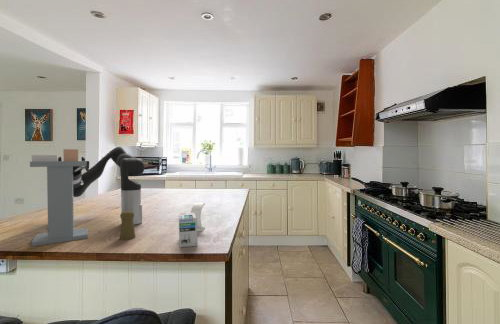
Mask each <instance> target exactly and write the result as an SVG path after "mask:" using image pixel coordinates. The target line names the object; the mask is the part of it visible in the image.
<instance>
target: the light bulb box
mask: <svg viewBox="0 0 500 324" xmlns="http://www.w3.org/2000/svg"><path fill="white" fill-rule="evenodd" d="M178 239H179V248H187V247H197V246H198V231H197V217H196V215H195V213H191V212H184V213H183V212H182V213H179V212H178Z"/></svg>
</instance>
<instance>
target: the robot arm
mask: <svg viewBox="0 0 500 324" xmlns="http://www.w3.org/2000/svg"><path fill="white" fill-rule="evenodd" d="M109 160H112V161H113V162H114V164H115V165H116V166H118V167H119V170H120V171H119V173H120V205H121V207H120V208H121V211H120V212H121V213H122V212H125V211H132V212H133V213H134V218H133V224H134V226H136V225H139V224H143V204H142V190H141V189H142V184H141V183H140V182H135V181H132V180H131V179H129V177H140V176H141V175H143V173H144V171H145V164H144V161H143V160H142V159H141V158H137V157H135V156H133V155H131V154H130V153H127V151H125V149H124V148H123V147H122V146H117V147H114V148H113V149H111V150H110V151H108V153H106V154H105V155H104V156H103V157H102V158H101V159H100V160H99V161H98V162H97V163H96V164H94V165H93V166H92V167H90V160H86V158H85V157H84V156H81V160H80V161H87V166H73V198H79V197H80V196H82V195H83V194H84V193H85V192H86V190H87V189H88V188H89V186H90V185H91V184H92V183H94V182H95V181H97V180H98V179H100V178H101V176H102V175H103V173H104V170H105V168H106V165H107V163H108V162H109ZM58 161H63V160H62V156H58ZM83 170H85V172H83V173H82V171H83ZM121 213H120V214H121ZM120 220H121V221H120V222H121V223H122V219H121V218H120Z"/></svg>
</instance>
